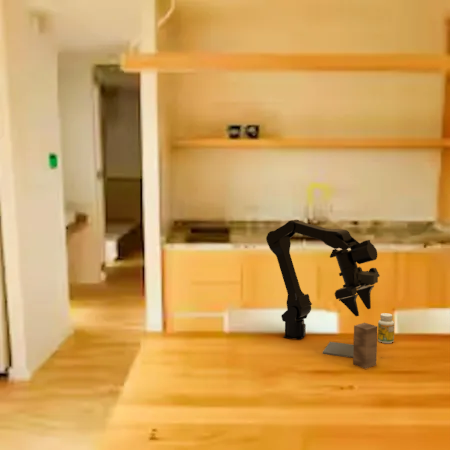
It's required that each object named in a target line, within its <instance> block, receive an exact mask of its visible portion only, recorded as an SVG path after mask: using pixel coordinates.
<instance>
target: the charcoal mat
mask: <svg viewBox="0 0 450 450" xmlns="http://www.w3.org/2000/svg"><path fill="white" fill-rule="evenodd" d="M353 350H354V344H352V343H351V344H350V343H342V342H335V341H329V343H327V346H326V347H325V348H324V349H323V351H322V355H329V356H337V357H344V358H350V359H351V358H352V359H353Z"/></svg>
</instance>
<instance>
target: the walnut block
mask: <svg viewBox="0 0 450 450" xmlns="http://www.w3.org/2000/svg"><path fill="white" fill-rule="evenodd" d="M353 345H354V350H353V358H352V364H353V365H354V366H357V367H360V368H362V369H369V368H373V367H374V366H377V351H378V350H377V347H378V325H374V324H370V323H367V322H362V323H358V324H356V325H353Z"/></svg>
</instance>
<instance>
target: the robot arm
mask: <svg viewBox="0 0 450 450" xmlns="http://www.w3.org/2000/svg"><path fill="white" fill-rule="evenodd" d="M296 234H299V235H303V236H306V237H308V238H312V239H315V240H319V241H321V242H323V243H324V244H325V245H326V246H328V247H329V248H331V249H332V250H331V253H330V255H329V258H335V257H336V261H337V264H338V267H339V270H340V272H338V275H339V277H342V280H343V283H344V284H342V287H340V288H338V289H336V290H335V292H334V296H335V300H338V301H339V302H341V303H342V304H343V305H344V306H345V308H347V309H348V310H349V311H350V312H351V313H352V315H354V316H355V317H359V316H360V313H359V312H360V311H359V308H358V303H357V298H358V297H359V298H360V300H361V302H362V304H363V305H364V307H365V308H366V309H367V310H371V309H372V308H371V305H372V303H371V301H372V300H371V292H372V290H373V288H375V285H376V283H378V282H379V279H378V278H380V276H381V275H380V273H379V272H378V269H377V268H376V267H370V268H369V270H365V271H364V270H363V269H362V267H361V266H358V265H362V264H365V263H369V262H373V261H376V260H377V258H378V251H377V248H376V247H375V245H374V243H372V242H371V239H367V240H363V241H361V242H359V241H358V240H357V239H356V238H354V237H353V236H352V235H351V233H350V231H349V230H347V229H344V228H343V229H341V228H325V227H322V226H319V225H315V224H311V223H308V222H306V221H305V222H304V221H302V220H299V219H292V220H288V221H287V222H286V223H284V224H283V225H281V226H280V227H278V228H276V229H274V230H270V231H269V232H268V233H267V235H266V238H265V239H266V240H265V241H266V243H267V246H268V247H269V249H270V251H271V252H272V253H273V254H274V255H275V256H276V260H277V263H278V267H279V270H280V272H281V276H282V279H283V282H284V283H283V284H284V287H285V288H286V292H287V298H286V311H285V312H283V314H281V319H282V322H284V335H283V338H284V339H291V340H297V341H298V340H302V339H304V337H305V336H306V328H307V327H306V325H307V324H306V323H305V319H308V318H307V317H308V315H309V314H310V313H311V311H312V305H313V303H312V302H311V299H310V295H309V294H308V293H304V292H303V291H302V289H301V287H300V286H301V285H300V282H299V280H298V276H297V273H296V270H295V266H294V263H293V260H292V256H291V252H290V250H291V238H292V237H294V236H295V235H296ZM348 249H350V250H348ZM378 284H379V283H378Z"/></svg>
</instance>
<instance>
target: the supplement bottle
mask: <svg viewBox="0 0 450 450" xmlns="http://www.w3.org/2000/svg"><path fill="white" fill-rule="evenodd" d="M379 318H380V319H379V320H378V321H377V322H378V323H377V324H378V325H377V342H379V343H381V342H382V344H392V342H393V343H394V341H395V340H394V339H395V321H394V320H393V314H392V313H388V312H382V313H380V317H379Z"/></svg>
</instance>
